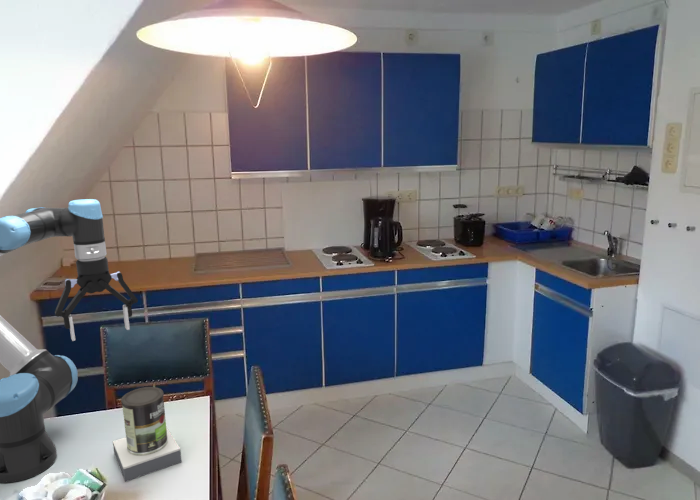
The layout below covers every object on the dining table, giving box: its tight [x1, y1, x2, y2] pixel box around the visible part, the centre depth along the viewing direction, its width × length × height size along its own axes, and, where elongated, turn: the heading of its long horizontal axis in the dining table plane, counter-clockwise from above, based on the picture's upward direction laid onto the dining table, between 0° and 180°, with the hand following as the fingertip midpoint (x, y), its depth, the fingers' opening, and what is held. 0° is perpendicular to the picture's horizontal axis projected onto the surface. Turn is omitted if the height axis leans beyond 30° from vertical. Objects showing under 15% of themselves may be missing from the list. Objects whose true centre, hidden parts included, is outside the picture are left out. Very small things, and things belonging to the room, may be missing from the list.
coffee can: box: [120, 386, 168, 455], centre depth 138 cm, size 10×10×14 cm
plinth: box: [112, 425, 182, 482], centre depth 140 cm, size 14×14×4 cm
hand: (101, 333), depth 143 cm, fingers open, 13 cm apart
